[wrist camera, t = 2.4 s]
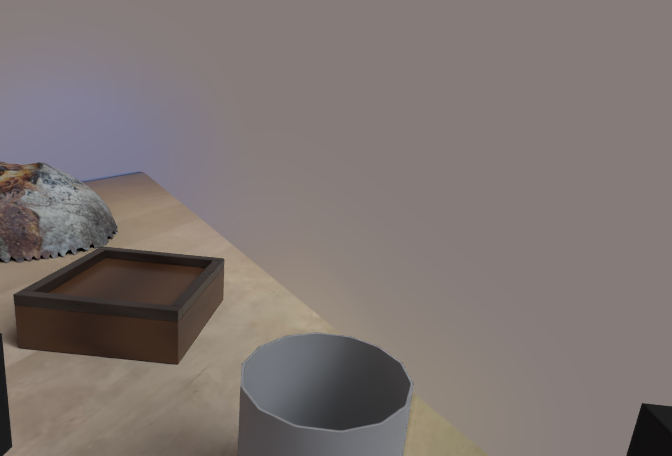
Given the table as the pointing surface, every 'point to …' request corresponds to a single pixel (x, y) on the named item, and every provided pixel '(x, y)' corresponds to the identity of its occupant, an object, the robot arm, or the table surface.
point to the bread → (48, 213)
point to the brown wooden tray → (121, 305)
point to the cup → (323, 398)
